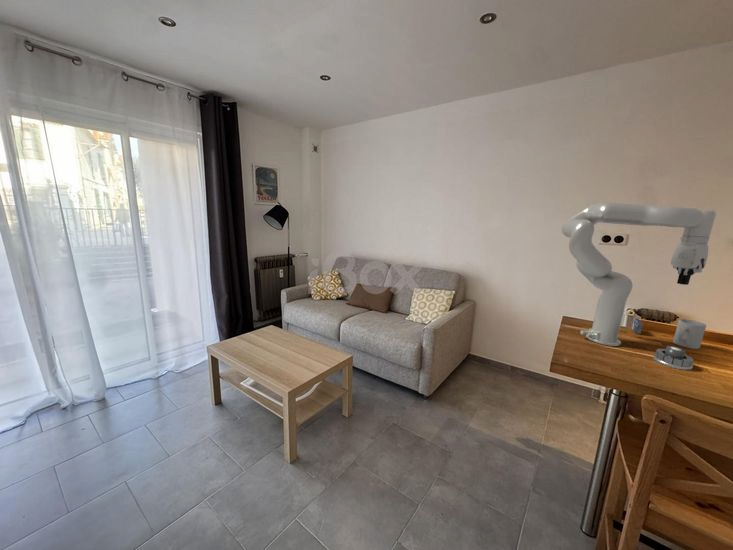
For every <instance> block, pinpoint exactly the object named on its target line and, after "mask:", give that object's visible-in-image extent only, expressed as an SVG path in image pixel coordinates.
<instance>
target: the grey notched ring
mask: <svg viewBox="0 0 733 550" xmlns="http://www.w3.org/2000/svg"><path fill="white" fill-rule="evenodd" d="M665 351H666V348H657V349H655V353H654V354H653V355H652V359H653V360H654V361H655V362H657V363H659V364H660V365H663V366H665V367H669V368H673V369H677V370H680V371H681V370H682V371H691V370H692V369H693V368H694V365H693V364H694V359H693V358H692V356H689V355H687V354H685V355H684V359H679V358H674V357H671V356H668V355H666V354H665Z"/></svg>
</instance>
